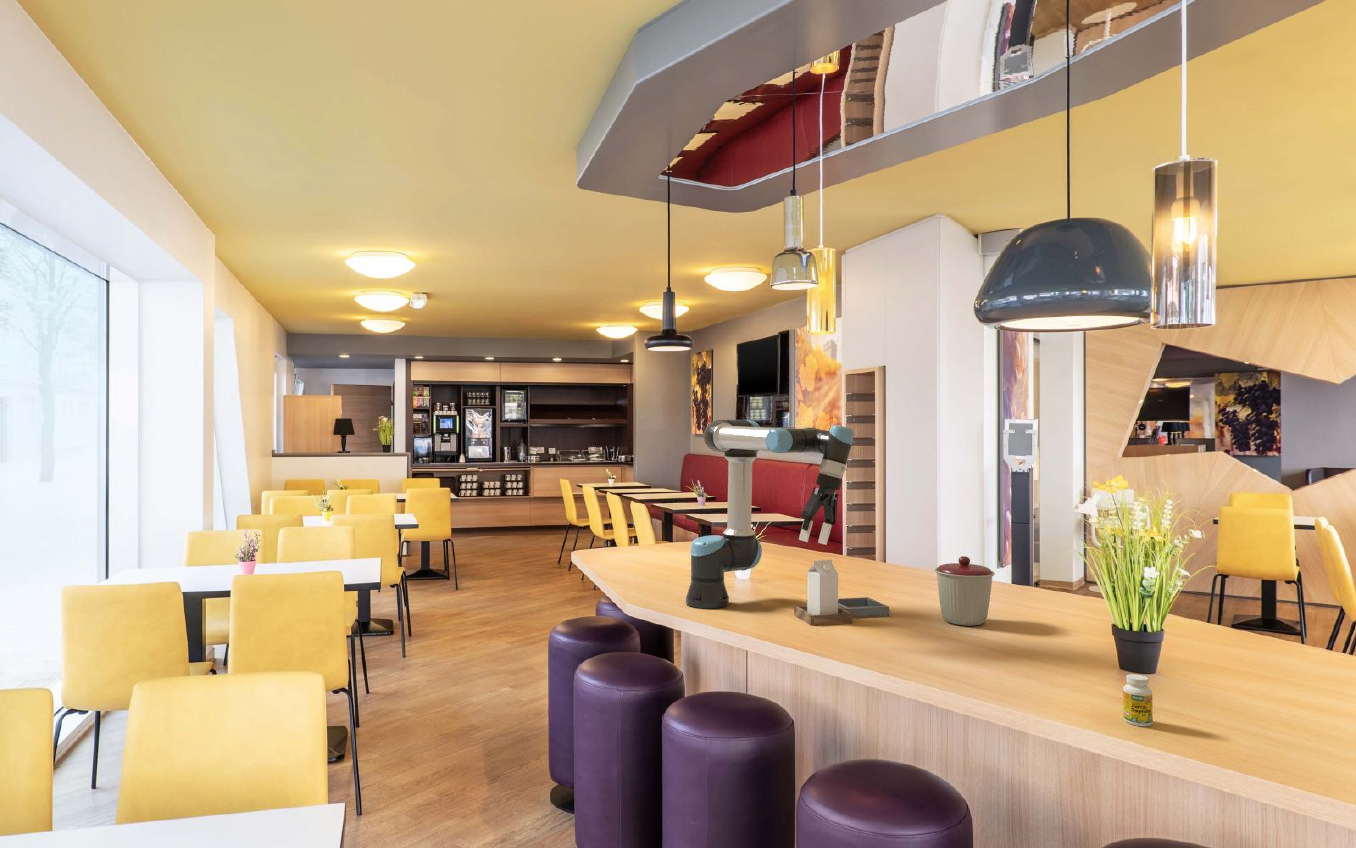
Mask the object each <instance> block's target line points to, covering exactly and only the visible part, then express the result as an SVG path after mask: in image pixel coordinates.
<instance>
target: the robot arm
mask: <svg viewBox="0 0 1356 848" xmlns="http://www.w3.org/2000/svg"><path fill="white" fill-rule="evenodd" d="M703 431H704V432H703V441H704V444H705V446H706V447H708V449H709V450H710V451H712V452H717V453H724V456H723V457H724V459H725V460H727V462H728V463H727V464H728V468H727V469H728V471H727V472H728V473H727V475H728V477H727V479H728V481H727V485H728V486H727V522H726V523H727V524H726V525H727V527H726V529H725V530H724V531H723V532H722V535H716V534H713V535H704V536H700V537H697V538H694V540H693V541H692V542H691V545H690V547H691V548H690V584H689V587H688V589H687V593H686V597H685V604H686V606H688V607H691V608H696V609H721V608H726V607H728V606H729V605H730V596H729V594H728V590H727V587H726V584H725V573H727V572H728V573H729V572H735V571H736V572H737V571H747V570H750V569H754V568H755V567H756V566H757V565H758V564H759V563H760V561H761V558H762V553H763V549H762V548H763V547H762V544H760V543H761V542H760V540H759V539H758V538H757V537H756V532H755V531H754V530H753V529H752V507H753V506H752V503H753V501H752V499H753V498H752V497H753V496H752V495H753V493H752V492H753V463H754V461H755V460H756V459H757V458H758V457H757V456H758V455H757V454H758V452H759V451H760V452H761V451H762V452H771V453H774V454H786V453H787V454H789V453H790V454H791V453H793V454H794V453H798V454H799V453H801V454H802V453H817V454H821V455H822V459H821V462H820V465H819V469H818V470H819V471H818V472H819V473H818V474H817V477H816V480H815V481H816V482H815V484H816V485H817V486H819V487H815V486H814V487H813V489H812V492H811V494H810V496H809V498H808V499H807V502H806V503H805V505H804V508H803V510H802V512H801V515H800V517H801V519H803V522H802V525H801V529H800V534H799V537H798V540H799V541H801V542H806V543H808V542H809V538H810V535H811V531H812V527H813V524H814V521H813V519H814V518H815V516H816V515H817V513H818V512H819V510H820V509H821V508H822V507H823V514H824V522H823V523H822V526H821V530H820V533H819V537H818V541H817V543H818V544H821V545H825V546H827V544H828V541H829V537H830V534H831V530H832V527H833V526H836V524H837V518H838V517H837V516H838V501H839V493H837V492H835V491H840V490H841V487H842V482H843V480H842V479H841V478H843V477H844V474H845V471H846V470H847V468H846V466H847V463H848V459H849V456H850V451H851V449H852V446H853V440H854V436H855V431H854V430H853V429H851V428H850V427H847V426H842V425H838V424H832V425H830V429H829V430H825V429H820V428H816V427H809V426H807V427H806V426H805V427H802V428H781V427H780V428H779V427H761V426H760V425H759V423H757V422H756V421H754V420H750V419H716V420H713V421H711V422H709V424H707V426H706V427H705V429H704V430H703Z"/></svg>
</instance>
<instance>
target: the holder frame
mask: <svg viewBox="0 0 1356 848" xmlns="http://www.w3.org/2000/svg"><path fill="white" fill-rule="evenodd" d="M793 615H794V616H795V617H796V618H798V619H799V620H801V621H803V622H804V623H807V624H808V625H809V626H824V625H825V626H826V625H841V624H842V625H843V624H852V623H853V618H852V613H850V612H848V611H846V610H844V609H842V608H840V607H838V614H821V615H812V614H810V613H808V612H807V604H806V605H794V606H793Z"/></svg>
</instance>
